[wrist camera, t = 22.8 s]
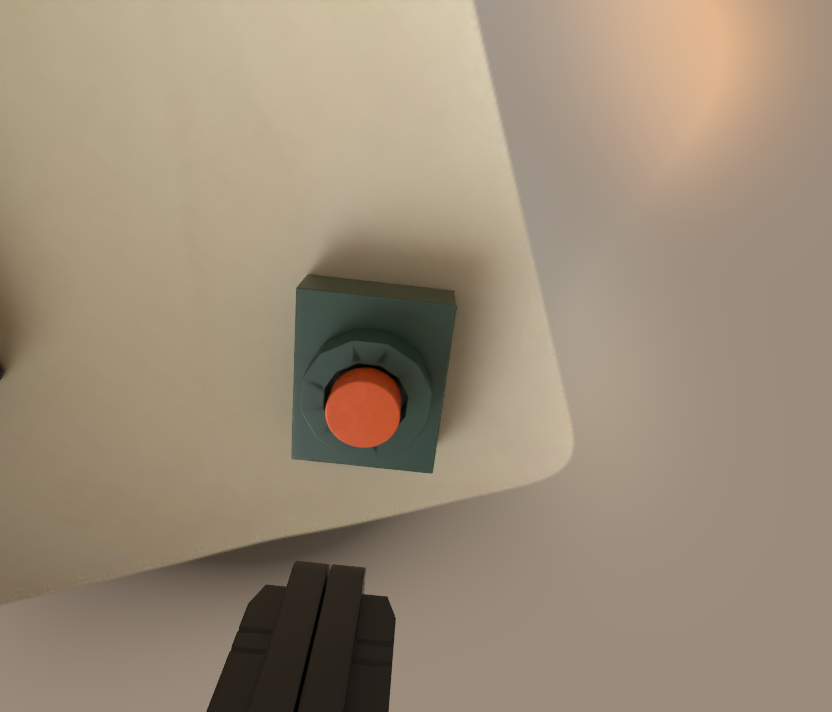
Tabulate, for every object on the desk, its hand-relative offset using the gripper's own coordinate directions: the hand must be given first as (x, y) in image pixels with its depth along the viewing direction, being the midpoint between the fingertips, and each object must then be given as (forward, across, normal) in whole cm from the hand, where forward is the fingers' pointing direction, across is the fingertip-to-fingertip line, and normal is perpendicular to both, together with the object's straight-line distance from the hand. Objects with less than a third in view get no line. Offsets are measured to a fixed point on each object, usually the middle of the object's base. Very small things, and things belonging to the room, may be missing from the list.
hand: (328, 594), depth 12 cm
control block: (+20, +1, +4) cm, 21 cm away
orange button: (+16, +1, +4) cm, 17 cm away
